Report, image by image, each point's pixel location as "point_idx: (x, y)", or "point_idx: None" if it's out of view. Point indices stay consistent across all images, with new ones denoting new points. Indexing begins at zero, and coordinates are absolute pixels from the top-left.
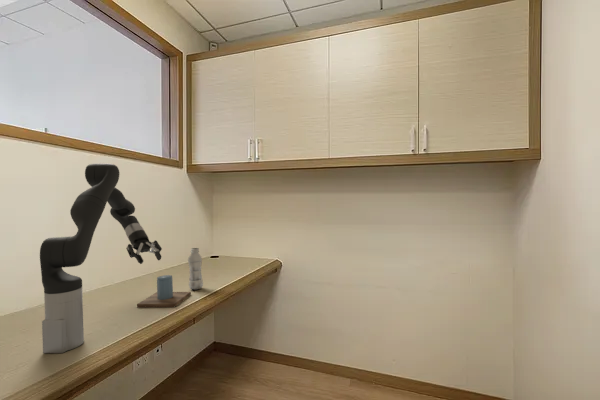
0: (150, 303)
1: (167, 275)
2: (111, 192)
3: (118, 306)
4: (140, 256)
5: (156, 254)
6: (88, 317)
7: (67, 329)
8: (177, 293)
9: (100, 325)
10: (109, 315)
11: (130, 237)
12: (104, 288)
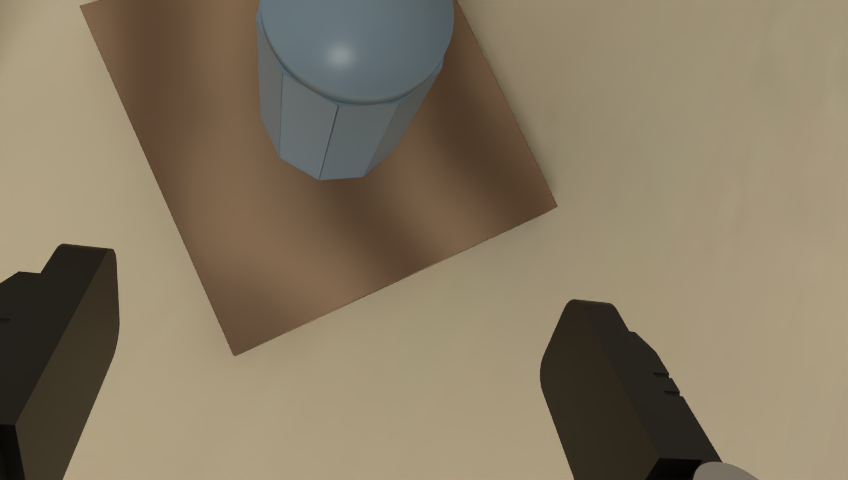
0: (501, 106)
1: (285, 23)
2: None
3: None
4: (650, 398)
5: (50, 430)
6: (806, 365)
7: None
8: (186, 94)
9: (816, 144)
10: (721, 258)
11: None
12: None
